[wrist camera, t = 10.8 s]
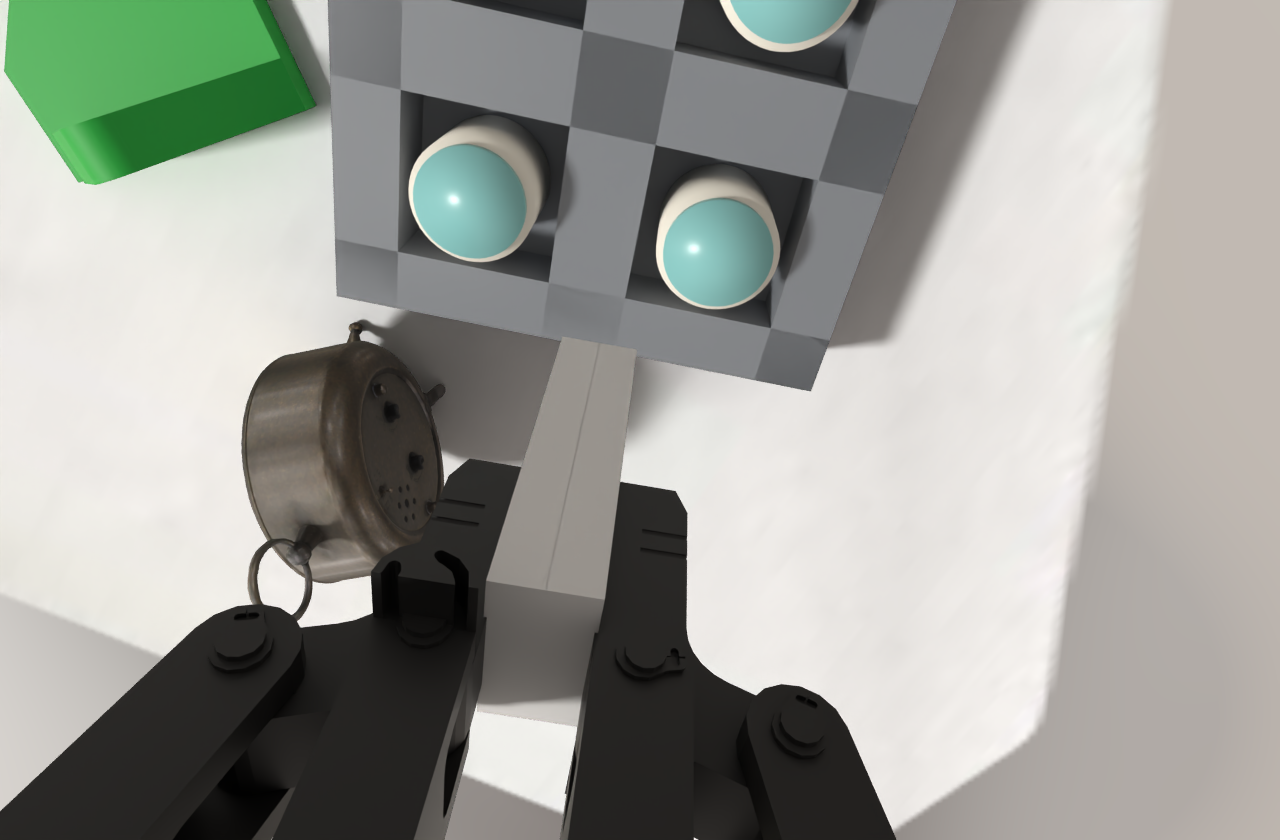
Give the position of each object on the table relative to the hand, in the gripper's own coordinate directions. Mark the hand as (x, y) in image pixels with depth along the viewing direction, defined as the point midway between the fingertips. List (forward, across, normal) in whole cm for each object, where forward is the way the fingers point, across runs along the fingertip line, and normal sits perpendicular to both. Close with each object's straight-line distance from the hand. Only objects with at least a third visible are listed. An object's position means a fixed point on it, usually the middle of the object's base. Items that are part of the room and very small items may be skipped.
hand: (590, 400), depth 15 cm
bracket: (+22, -22, 0) cm, 31 cm away
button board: (+21, -1, +3) cm, 22 cm away
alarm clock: (+21, -11, -15) cm, 28 cm away
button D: (+20, -6, -2) cm, 21 cm away
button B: (+20, +4, -2) cm, 21 cm away
